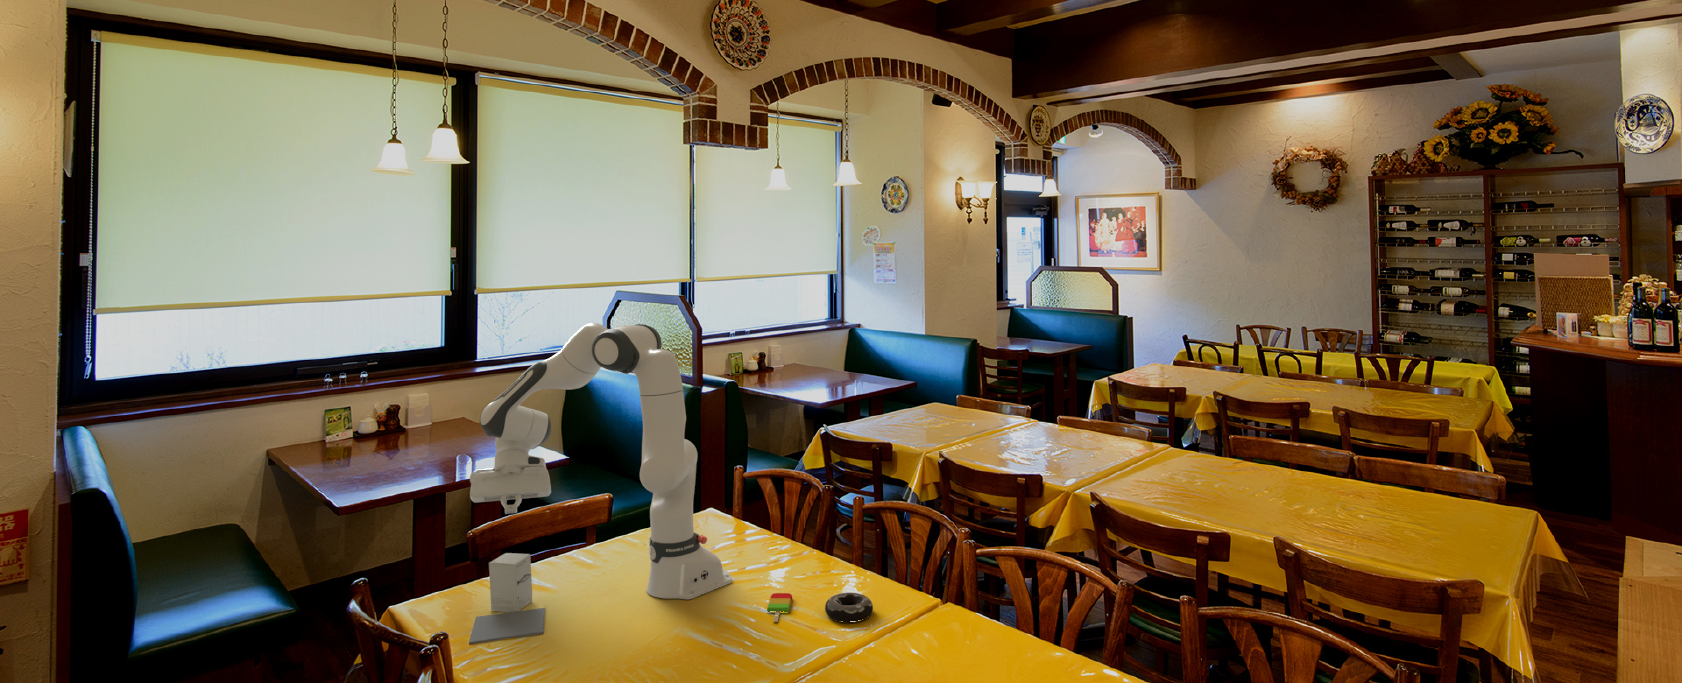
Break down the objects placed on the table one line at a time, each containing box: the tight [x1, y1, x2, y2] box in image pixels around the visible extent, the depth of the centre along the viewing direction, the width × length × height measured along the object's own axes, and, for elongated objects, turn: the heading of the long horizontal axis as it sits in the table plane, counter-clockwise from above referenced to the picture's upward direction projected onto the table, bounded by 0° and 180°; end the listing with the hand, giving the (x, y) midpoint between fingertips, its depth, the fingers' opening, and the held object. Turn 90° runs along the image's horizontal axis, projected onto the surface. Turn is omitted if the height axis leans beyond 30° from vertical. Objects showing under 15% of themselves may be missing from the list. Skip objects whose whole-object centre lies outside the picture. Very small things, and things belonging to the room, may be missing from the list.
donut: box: [824, 591, 874, 622], centre depth 202 cm, size 12×12×4 cm
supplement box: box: [488, 552, 533, 613], centre depth 208 cm, size 7×7×13 cm
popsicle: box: [766, 592, 793, 623], centre depth 205 cm, size 6×15×2 cm, turn 178°
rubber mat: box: [468, 607, 546, 645], centre depth 198 cm, size 14×16×1 cm
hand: (510, 512), depth 218 cm, fingers closed
